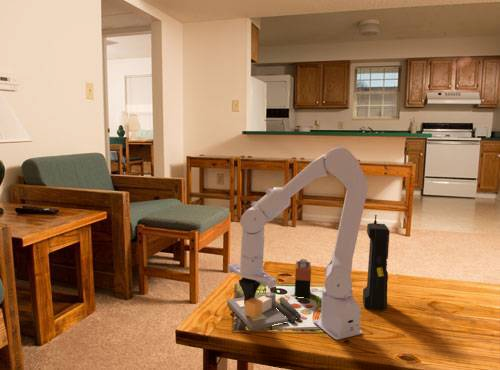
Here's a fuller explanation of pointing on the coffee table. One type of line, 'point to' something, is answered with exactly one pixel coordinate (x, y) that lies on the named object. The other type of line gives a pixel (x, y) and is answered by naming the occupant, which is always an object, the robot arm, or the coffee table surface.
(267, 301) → the lever
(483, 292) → the coffee table surface
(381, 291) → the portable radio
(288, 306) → the dark grey rounded rod
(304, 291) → the battery
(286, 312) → the dark grey rod
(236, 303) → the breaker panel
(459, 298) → the coffee table surface
